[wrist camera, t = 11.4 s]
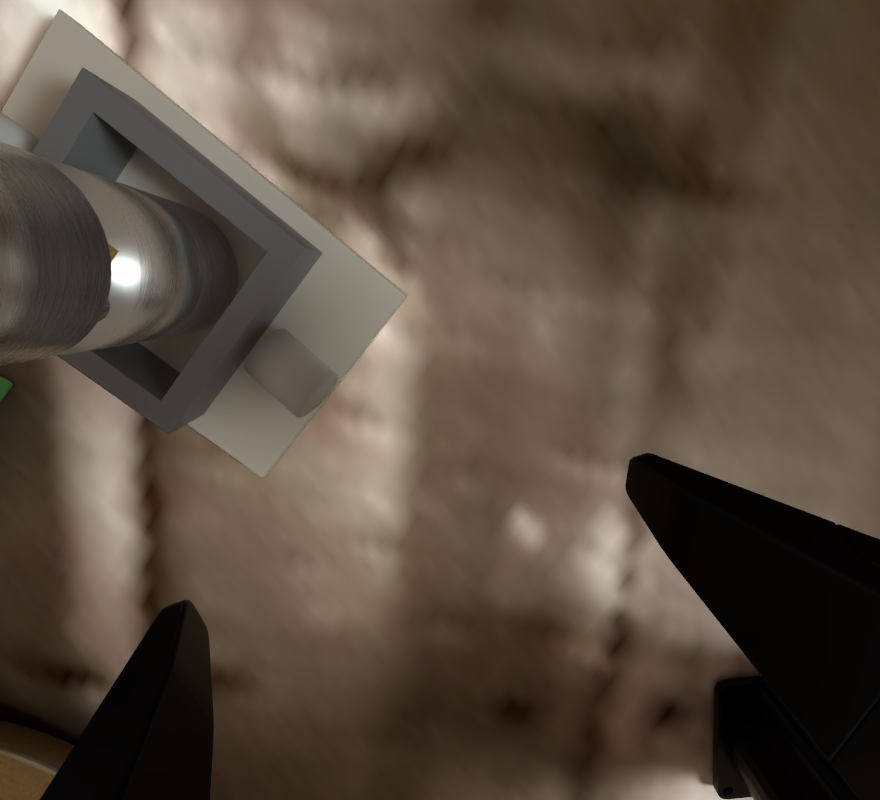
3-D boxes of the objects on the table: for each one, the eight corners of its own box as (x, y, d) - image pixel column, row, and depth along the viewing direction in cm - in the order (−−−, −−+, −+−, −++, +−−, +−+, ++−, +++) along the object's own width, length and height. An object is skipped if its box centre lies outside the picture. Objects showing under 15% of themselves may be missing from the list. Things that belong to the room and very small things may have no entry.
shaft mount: (408, 295, 19) (402, 298, 15) (271, 468, 20) (238, 506, 17) (81, 24, 17) (-11, -43, 13) (-45, 241, 18) (-157, 231, 15)
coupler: (262, 260, 17) (-207, 175, 5) (192, 359, 18) (-381, 520, 5) (153, 173, 17) (-745, -203, 4) (84, 279, 17) (-861, 248, 5)
